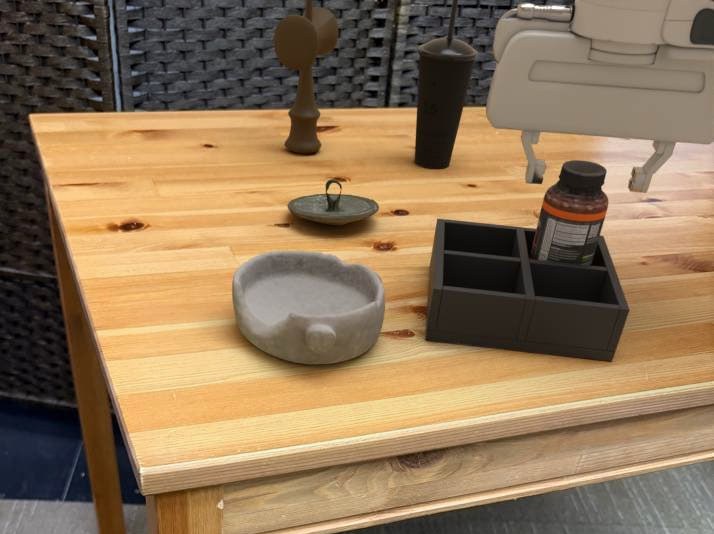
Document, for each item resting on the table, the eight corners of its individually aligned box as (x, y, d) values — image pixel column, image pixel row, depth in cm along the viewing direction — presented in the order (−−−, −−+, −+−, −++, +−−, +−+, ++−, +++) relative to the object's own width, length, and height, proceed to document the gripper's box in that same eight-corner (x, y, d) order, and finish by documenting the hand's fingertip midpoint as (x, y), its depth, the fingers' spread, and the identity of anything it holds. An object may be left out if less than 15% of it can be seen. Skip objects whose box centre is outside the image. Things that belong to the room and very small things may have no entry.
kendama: (269, 156, 110) (273, -21, 97) (294, 137, 117) (301, -30, 104) (311, 163, 109) (320, -15, 96) (334, 144, 116) (345, -25, 103)
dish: (339, 387, 67) (344, 332, 64) (200, 340, 72) (198, 286, 68) (410, 320, 77) (417, 269, 73) (283, 282, 81) (285, 233, 78)
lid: (333, 257, 90) (348, 216, 86) (267, 211, 92) (278, 169, 89) (384, 235, 97) (399, 195, 93) (321, 192, 99) (333, 152, 96)
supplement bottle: (532, 267, 84) (560, 151, 77) (589, 280, 83) (624, 163, 75) (517, 288, 80) (545, 168, 73) (576, 303, 79) (612, 182, 71)
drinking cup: (411, 151, 116) (433, -18, 102) (464, 159, 114) (493, -11, 101) (397, 166, 110) (419, -10, 97) (453, 175, 108) (482, -3, 95)
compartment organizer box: (589, 282, 85) (603, 235, 82) (612, 361, 73) (629, 309, 69) (429, 265, 86) (437, 218, 83) (425, 340, 74) (433, 288, 71)
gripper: (501, 7, 64) (472, 188, 73) (769, 25, 63) (704, 207, 72) (498, -5, 69) (471, 166, 78) (747, 10, 67) (689, 183, 77)
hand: (584, 186), depth 75 cm, fingers open, 8 cm apart
